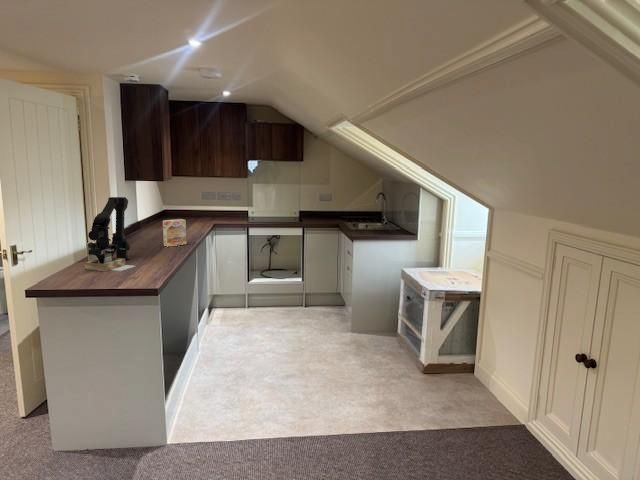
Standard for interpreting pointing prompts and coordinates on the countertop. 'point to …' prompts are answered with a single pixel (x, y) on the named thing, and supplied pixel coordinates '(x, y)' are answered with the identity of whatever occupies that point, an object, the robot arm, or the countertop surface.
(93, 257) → the skincare box
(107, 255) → the sage box
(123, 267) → the grey mat
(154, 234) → the countertop surface
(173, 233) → the coffeecake box
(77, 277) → the countertop surface
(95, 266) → the wooden frame
